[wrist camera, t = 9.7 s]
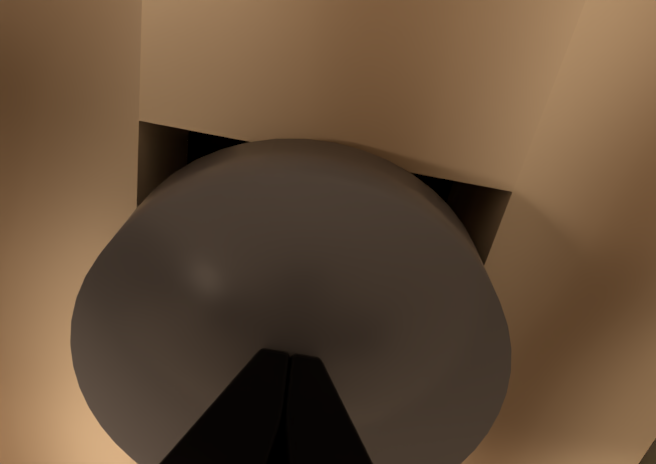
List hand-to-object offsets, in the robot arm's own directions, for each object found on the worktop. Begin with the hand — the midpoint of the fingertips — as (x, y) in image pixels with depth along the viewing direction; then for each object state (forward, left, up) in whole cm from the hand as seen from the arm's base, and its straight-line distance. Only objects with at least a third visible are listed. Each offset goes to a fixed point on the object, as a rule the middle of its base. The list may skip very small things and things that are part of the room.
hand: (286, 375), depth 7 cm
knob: (0, 0, -5) cm, 5 cm away
